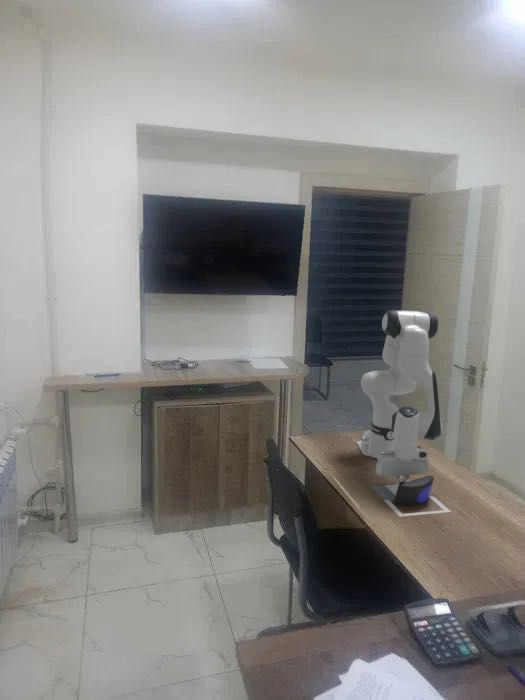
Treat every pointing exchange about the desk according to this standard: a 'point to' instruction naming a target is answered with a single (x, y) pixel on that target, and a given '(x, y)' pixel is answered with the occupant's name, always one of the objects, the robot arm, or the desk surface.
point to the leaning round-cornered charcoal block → (414, 492)
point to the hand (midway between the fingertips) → (400, 485)
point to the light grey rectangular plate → (392, 489)
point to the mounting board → (387, 497)
